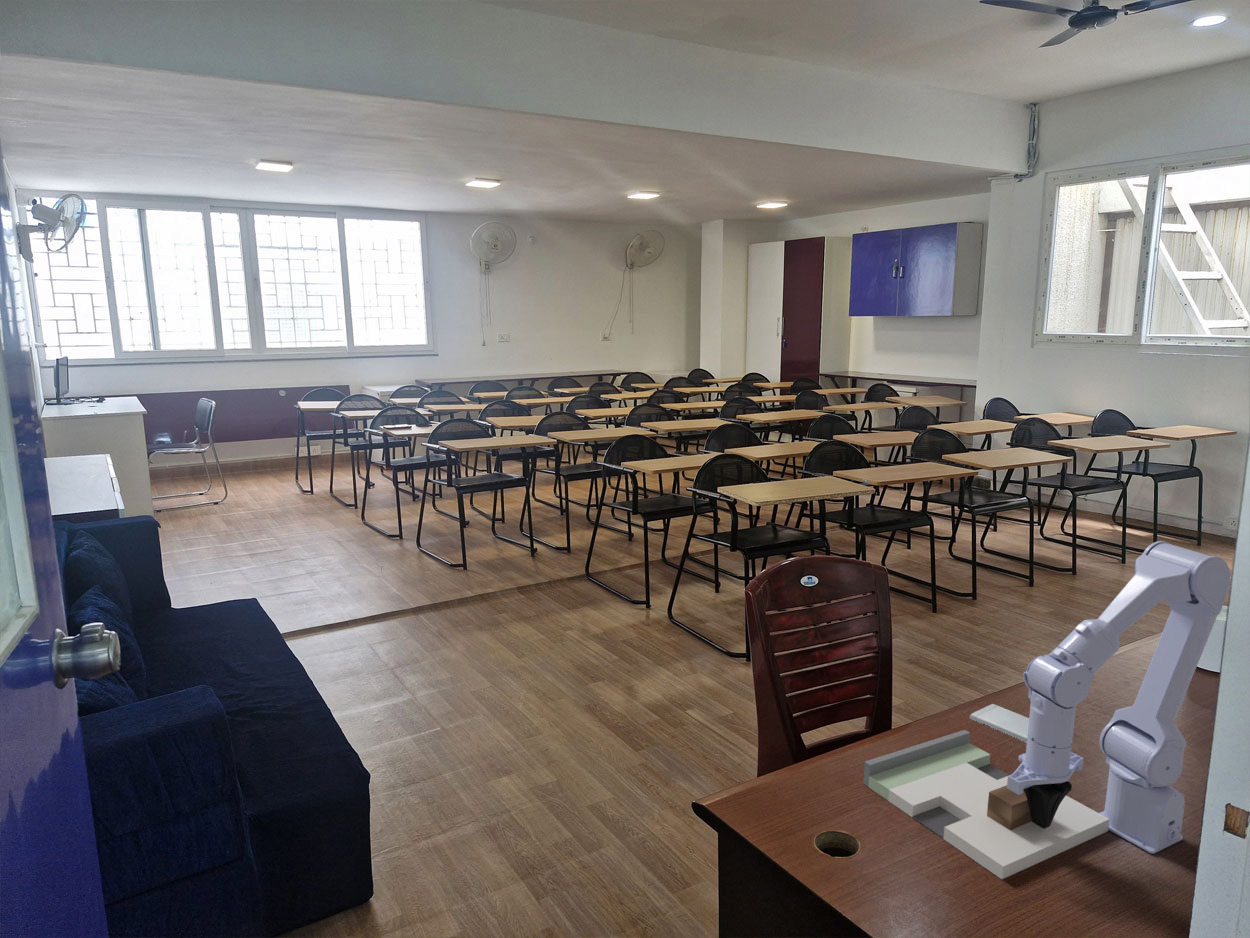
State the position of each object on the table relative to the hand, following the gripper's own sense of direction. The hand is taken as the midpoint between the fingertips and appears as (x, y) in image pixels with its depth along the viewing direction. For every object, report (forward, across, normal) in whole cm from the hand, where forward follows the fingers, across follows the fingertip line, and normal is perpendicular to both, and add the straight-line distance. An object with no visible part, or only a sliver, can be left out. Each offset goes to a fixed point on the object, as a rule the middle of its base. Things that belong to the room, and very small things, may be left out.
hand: (1040, 824), depth 118 cm
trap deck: (+3, 0, -10) cm, 10 cm away
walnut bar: (+1, 0, -4) cm, 4 cm away
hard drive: (+4, -28, -26) cm, 38 cm away
